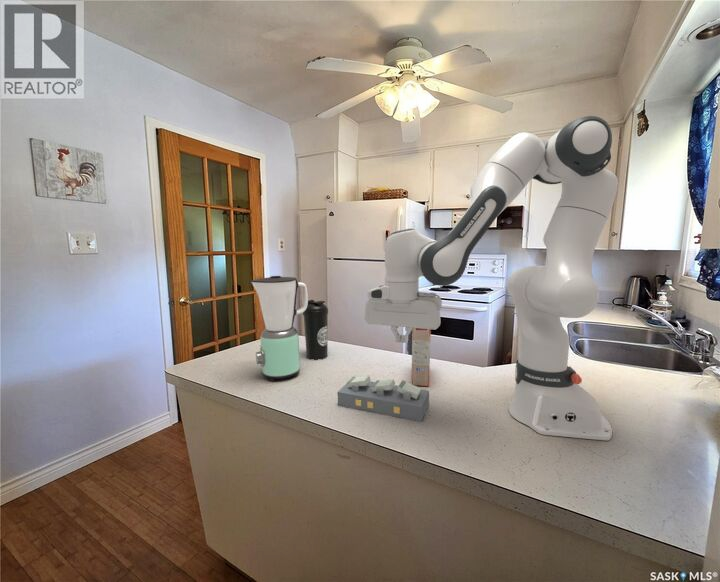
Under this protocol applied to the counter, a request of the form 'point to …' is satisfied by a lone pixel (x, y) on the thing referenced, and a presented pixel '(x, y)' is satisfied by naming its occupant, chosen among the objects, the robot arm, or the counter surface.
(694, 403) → the counter surface
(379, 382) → the switch
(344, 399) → the switch unit
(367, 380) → the switch
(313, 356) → the water bottle
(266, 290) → the blender
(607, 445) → the counter surface
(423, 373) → the cracker box
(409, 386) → the switch
